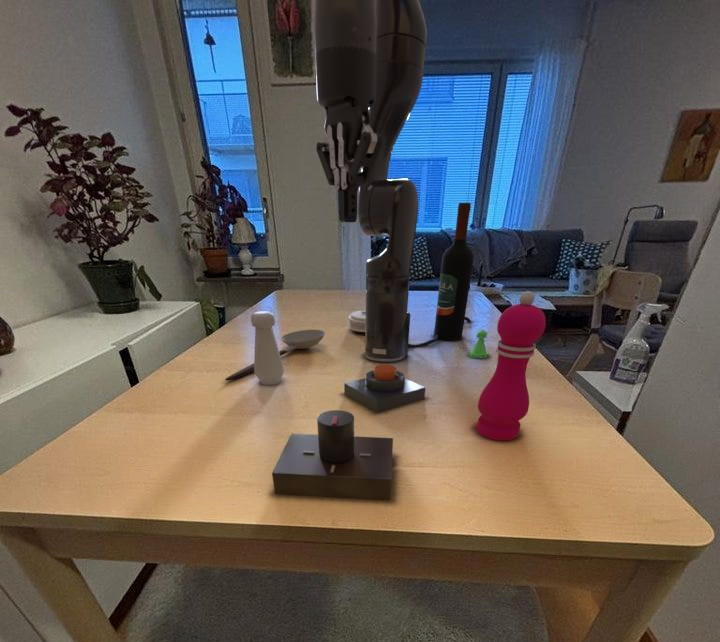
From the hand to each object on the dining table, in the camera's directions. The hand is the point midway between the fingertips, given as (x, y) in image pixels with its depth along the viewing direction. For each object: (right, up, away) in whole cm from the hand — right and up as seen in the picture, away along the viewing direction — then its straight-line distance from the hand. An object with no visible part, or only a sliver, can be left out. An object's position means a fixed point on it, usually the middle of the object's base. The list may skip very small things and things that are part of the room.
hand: (347, 222), depth 58 cm
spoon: (-17, -11, +33) cm, 38 cm away
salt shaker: (-16, -18, +21) cm, 32 cm away
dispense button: (+6, -20, +13) cm, 24 cm away
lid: (+5, +5, +56) cm, 56 cm away
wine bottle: (+26, +1, +50) cm, 56 cm away
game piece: (+30, -9, +36) cm, 48 cm away
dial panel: (-1, -37, -6) cm, 38 cm away
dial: (-1, -35, -8) cm, 36 cm away
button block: (+6, -23, +15) cm, 28 cm away
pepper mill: (+23, -31, +4) cm, 39 cm away
